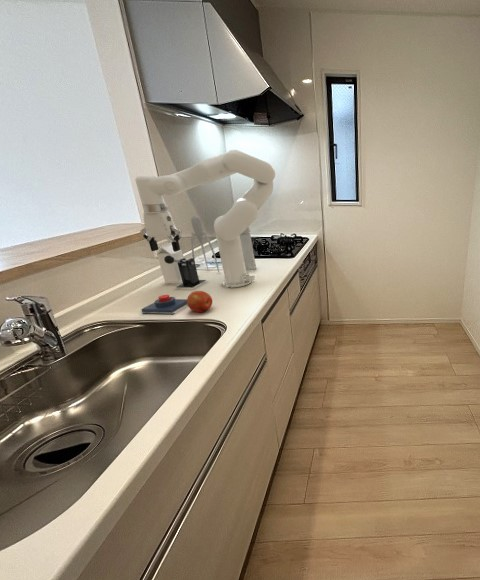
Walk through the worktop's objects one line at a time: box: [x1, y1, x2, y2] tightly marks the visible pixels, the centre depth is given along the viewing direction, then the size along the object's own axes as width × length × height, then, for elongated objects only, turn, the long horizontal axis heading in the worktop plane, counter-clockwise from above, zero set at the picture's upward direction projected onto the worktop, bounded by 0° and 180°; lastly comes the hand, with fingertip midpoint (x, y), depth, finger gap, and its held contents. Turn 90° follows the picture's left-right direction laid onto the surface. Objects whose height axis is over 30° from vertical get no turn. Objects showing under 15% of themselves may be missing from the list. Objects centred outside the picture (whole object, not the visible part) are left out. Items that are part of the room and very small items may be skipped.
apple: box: [186, 290, 213, 313], centre depth 118 cm, size 8×8×8 cm
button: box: [157, 294, 171, 302], centre depth 120 cm, size 4×4×2 cm
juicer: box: [190, 214, 220, 273], centre depth 157 cm, size 10×9×30 cm
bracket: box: [176, 257, 207, 289], centre depth 144 cm, size 10×8×13 cm
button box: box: [140, 296, 187, 316], centre depth 121 cm, size 12×10×4 cm
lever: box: [164, 255, 187, 266], centre depth 137 cm, size 13×4×4 cm, turn 175°
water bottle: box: [239, 225, 257, 271], centre depth 165 cm, size 9×8×25 cm
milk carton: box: [156, 242, 185, 284], centre depth 147 cm, size 7×7×19 cm
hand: (166, 250), depth 131 cm, fingers open, 9 cm apart
